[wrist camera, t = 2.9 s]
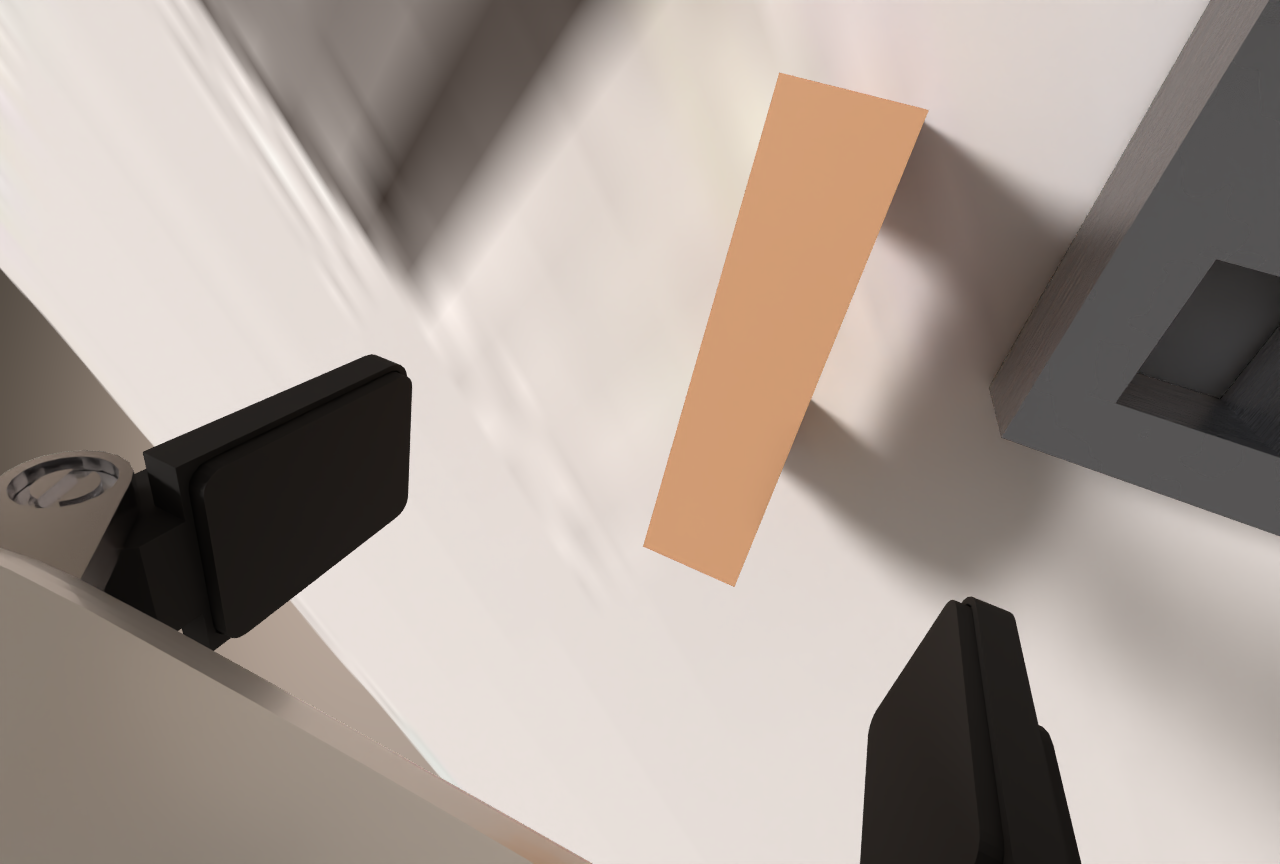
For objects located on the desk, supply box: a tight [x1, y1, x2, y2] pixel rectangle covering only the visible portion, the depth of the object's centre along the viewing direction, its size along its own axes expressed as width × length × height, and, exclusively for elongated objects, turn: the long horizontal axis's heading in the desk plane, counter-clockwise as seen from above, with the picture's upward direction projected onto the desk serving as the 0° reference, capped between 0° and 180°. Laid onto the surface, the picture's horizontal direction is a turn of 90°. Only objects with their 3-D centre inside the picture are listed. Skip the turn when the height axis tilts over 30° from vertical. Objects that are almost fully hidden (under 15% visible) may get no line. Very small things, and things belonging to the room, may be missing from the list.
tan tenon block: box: [643, 73, 928, 587], centre depth 19 cm, size 3×13×8 cm, turn 166°
